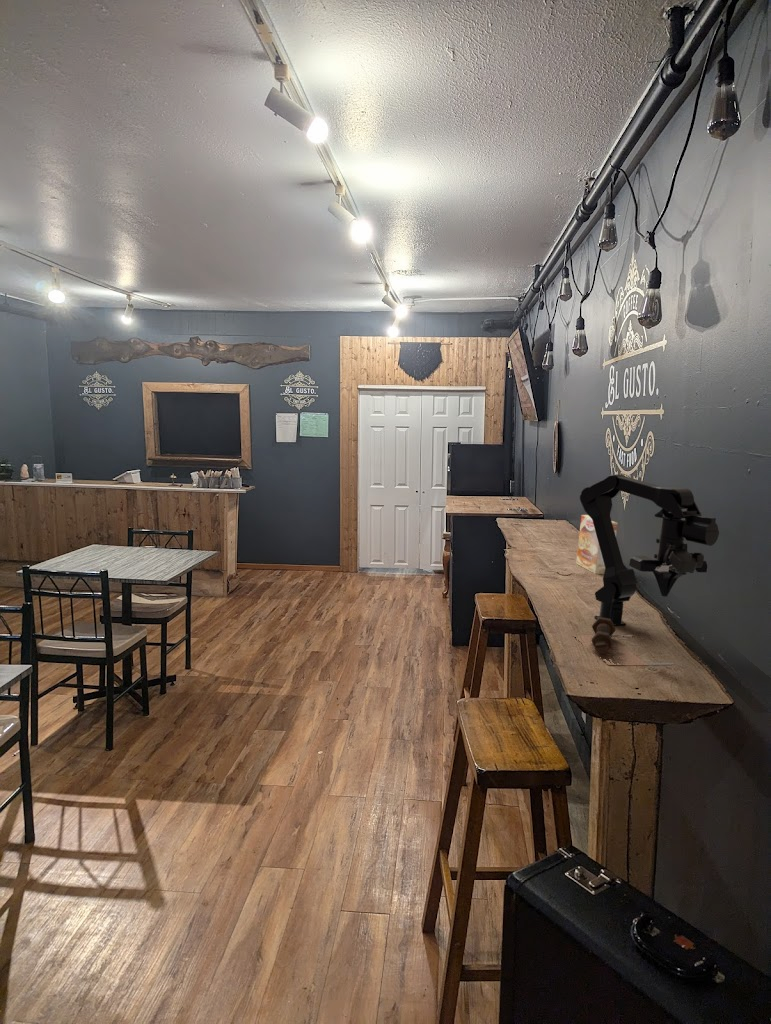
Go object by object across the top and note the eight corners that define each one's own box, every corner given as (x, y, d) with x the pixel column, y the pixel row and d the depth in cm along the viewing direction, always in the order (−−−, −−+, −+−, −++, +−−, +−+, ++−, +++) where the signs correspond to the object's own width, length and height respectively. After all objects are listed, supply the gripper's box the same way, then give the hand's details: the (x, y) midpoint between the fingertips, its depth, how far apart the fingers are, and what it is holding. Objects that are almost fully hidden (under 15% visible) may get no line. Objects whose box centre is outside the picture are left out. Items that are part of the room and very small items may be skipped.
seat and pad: (571, 635, 163) (571, 635, 163) (631, 635, 166) (631, 635, 166) (608, 665, 145) (608, 665, 145) (674, 664, 148) (674, 664, 148)
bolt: (596, 662, 151) (599, 639, 165) (616, 655, 149) (618, 633, 163) (586, 640, 151) (589, 619, 164) (606, 633, 149) (608, 613, 162)
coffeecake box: (575, 563, 243) (580, 514, 240) (592, 564, 245) (597, 515, 241) (594, 574, 229) (600, 522, 225) (612, 574, 230) (618, 522, 227)
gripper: (657, 543, 150) (648, 606, 152) (726, 545, 153) (717, 606, 155) (631, 534, 160) (624, 592, 163) (697, 535, 163) (689, 592, 166)
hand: (664, 596), depth 161 cm, fingers closed
